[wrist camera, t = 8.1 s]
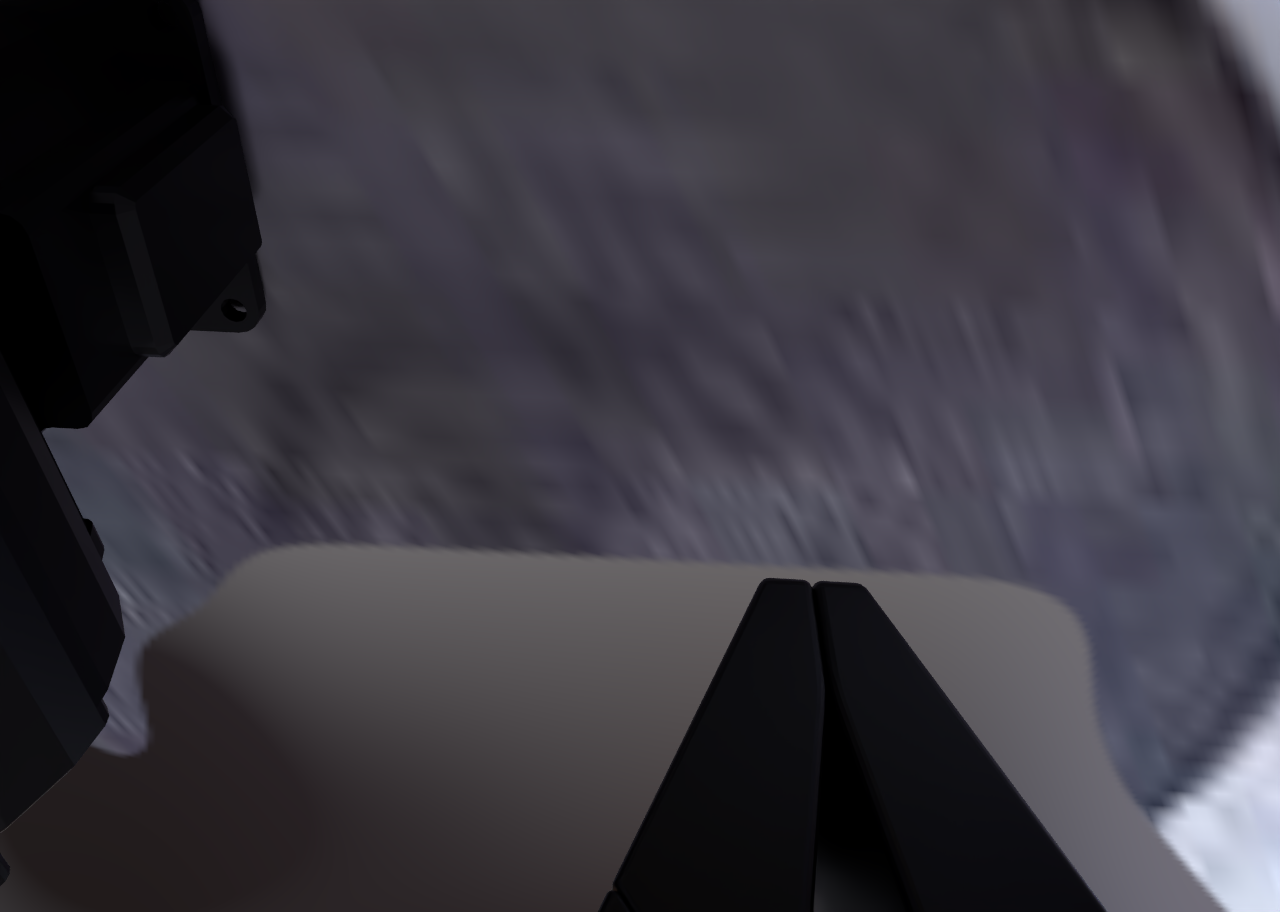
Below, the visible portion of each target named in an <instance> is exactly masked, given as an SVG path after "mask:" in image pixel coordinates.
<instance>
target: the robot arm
mask: <svg viewBox="0 0 1280 912" xmlns="http://www.w3.org/2000/svg"><path fill="white" fill-rule="evenodd" d="M159 1H162V2H165V3H167V4H168V5H170V6H171V7H172V8H173V9H174V11H175V13H176V15H177V17H178V26H177V27H174V26H171V25H168V24H167V23H166V22H165V21H164V20H163V19H162V18H161V16H160V14H159V12H158V2H159ZM261 245H262V239H261V234H260V230H259V225H258V220H257V216H256V211H255V206H254V202H253V197H252V192H251V188H250V183H249V178H248V174H247V169H246V164H245V160H244V155H243V151H242V146H241V141H240V137H239V132H238V127H237V123H236V119H235V118H234V117H233V116H232V115H231V114H230V113H229V112H228V111H227V109H226V108H225V107H224V106H222V101H221V97H220V92H219V88H218V83H217V79H216V74H215V70H214V65H213V61H212V56H211V52H210V47H209V43H208V38H207V34H206V29H205V24H204V20H203V15H202V11H201V9H200V7H199V4H198V2H197V0H0V833H1V832H2V831H4V830H5V829H6V828H7V827H9V826H10V825H11V824H12V823H13V822H14V821H15V820H16V819H17V818H18V817H20V816H21V815H22V814H23V813H24V812H25V811H26V810H27V809H28V808H29V807H31V806H32V805H33V804H34V803H35V802H36V801H37V800H38V799H39V798H40V797H42V796H43V795H44V794H45V793H46V792H47V791H48V790H49V789H50V788H51V787H52V786H53V785H55V784H56V783H57V782H58V781H59V780H60V779H61V778H62V777H63V776H64V775H66V773H68V772H69V771H70V770H71V769H72V768H73V767H74V766H75V764H76V763H77V762H78V761H79V759H80V758H81V757H82V755H83V754H84V753H85V751H86V750H87V749H88V747H89V746H90V745H91V744H92V742H93V741H94V740H95V738H96V737H97V736H98V734H99V733H100V732H101V731H102V729H103V728H104V727H105V725H106V723H107V720H108V717H109V713H108V708H107V706H106V704H105V702H104V701H103V699H102V698H103V697H104V695H105V693H106V692H107V690H108V687H109V684H110V681H111V678H112V675H113V672H114V669H115V666H116V663H117V660H118V657H119V654H120V651H121V648H122V645H123V642H124V639H125V632H124V626H123V619H122V613H121V606H120V600H119V595H118V593H117V591H116V588H115V586H114V584H113V582H112V580H111V578H110V576H109V574H108V572H107V570H106V568H105V566H104V564H103V562H102V558H103V553H104V545H103V543H102V541H101V539H100V537H99V535H98V533H97V531H96V529H95V527H94V525H93V523H92V521H90V520H89V519H84V518H83V517H82V515H81V513H80V511H79V509H78V507H77V505H76V503H75V500H74V498H73V496H72V494H71V492H70V490H69V488H68V486H67V484H66V482H65V480H64V478H63V476H62V474H61V472H60V469H59V467H58V465H57V463H56V461H55V459H54V457H53V455H52V453H51V451H50V449H49V447H48V445H47V443H46V441H45V438H44V436H43V434H42V432H43V431H44V430H45V429H46V428H51V427H55V428H74V429H79V428H85V427H88V425H89V424H90V423H91V422H92V421H93V420H94V419H95V417H96V416H97V415H98V414H99V413H100V412H101V411H102V409H103V408H104V407H105V406H106V405H107V404H108V403H109V401H110V400H111V399H112V398H113V397H114V396H115V395H116V393H117V392H118V391H119V390H120V389H121V388H122V387H123V385H124V384H125V383H126V382H127V381H128V380H129V379H130V377H131V376H132V375H133V374H134V373H135V372H136V371H137V369H138V368H139V367H140V366H141V365H142V364H143V363H144V361H145V360H146V359H147V358H148V357H166V356H167V355H169V354H170V353H171V352H172V351H173V349H174V348H175V347H176V346H177V345H178V344H179V343H180V341H181V340H182V339H183V338H184V337H185V335H186V334H187V333H188V332H189V331H190V330H196V331H217V332H237V333H240V332H247V331H249V330H251V329H253V328H254V327H255V326H256V325H257V324H258V322H259V321H260V320H261V318H262V317H263V315H264V313H265V311H266V301H265V296H264V292H263V287H262V283H261V278H260V273H259V269H258V264H257V260H256V255H255V253H256V252H257V250H258V249H259V248H260V247H261ZM229 299H234V300H238V301H239V302H240V303H242V304H243V305H244V307H245V309H246V311H247V312H241V311H237V310H236V309H235V308H234V307H232V306H231V304H230V302H229ZM9 874H10V866H9V865H8V863H7V862H6V860H5V859H4V857H3V856H2V855H1V853H0V886H1V885H2V884H3V883H4V882H5V881H6V879H7V877H8V876H9ZM598 912H1107V910H1106V909H1105V907H1104V906H1103V905H1102V903H1101V902H1100V901H1099V899H1098V898H1097V897H1096V895H1095V894H1094V893H1093V891H1092V890H1091V889H1090V887H1089V886H1088V885H1087V883H1086V882H1085V881H1084V879H1083V878H1082V877H1081V875H1080V874H1079V873H1078V872H1077V870H1076V869H1075V867H1074V866H1073V865H1072V863H1071V862H1070V861H1069V859H1068V858H1067V857H1066V855H1065V854H1064V853H1063V851H1062V850H1061V848H1060V847H1059V846H1058V845H1057V843H1056V842H1055V841H1054V839H1053V838H1052V836H1051V835H1050V834H1049V832H1048V831H1047V830H1046V828H1045V827H1044V826H1043V824H1042V823H1041V822H1040V820H1039V819H1038V818H1037V816H1036V815H1035V814H1034V812H1033V811H1032V810H1031V808H1030V807H1029V806H1028V804H1027V803H1026V802H1025V800H1024V799H1023V798H1022V797H1021V795H1020V794H1019V792H1018V791H1017V790H1016V788H1015V787H1014V785H1013V784H1012V783H1011V782H1010V780H1009V779H1008V777H1007V776H1006V775H1005V773H1004V772H1003V771H1002V769H1001V768H1000V767H999V765H998V764H997V763H996V761H995V760H994V759H993V757H992V756H991V755H990V753H989V752H988V751H987V749H986V748H985V747H984V745H983V744H982V743H981V741H980V740H979V739H978V737H977V736H976V735H975V733H974V732H973V731H972V729H971V728H970V727H969V725H968V724H967V722H966V721H965V720H964V719H963V717H962V716H961V715H960V713H959V712H958V711H957V709H956V708H955V706H954V705H953V704H952V703H951V701H950V700H949V698H948V697H947V696H946V694H945V693H944V692H943V690H942V689H941V688H940V686H939V685H938V684H937V682H936V681H935V680H934V678H933V677H932V676H931V674H930V673H929V672H928V670H927V669H926V668H925V666H924V665H923V664H922V662H921V661H920V660H919V658H918V657H917V655H916V654H915V653H914V652H913V650H912V649H911V647H909V645H908V643H907V642H906V641H905V639H904V638H903V637H902V635H901V634H900V633H899V631H898V630H897V629H896V627H895V626H894V625H893V623H892V622H891V621H890V619H889V618H888V617H887V615H886V614H885V613H884V611H883V610H882V609H881V607H880V606H879V605H878V603H877V602H876V601H875V600H874V598H873V597H872V595H871V594H870V593H869V591H868V590H867V589H866V588H865V587H864V586H862V585H861V584H858V583H847V582H829V581H819V582H817V583H815V584H814V586H813V587H811V585H810V583H809V582H807V581H805V580H796V579H778V578H766V579H764V580H763V581H762V582H761V583H760V584H759V586H758V588H757V590H756V592H755V594H754V596H753V598H752V600H751V602H750V604H749V606H748V608H747V610H746V612H745V614H744V616H743V618H742V621H741V623H740V624H739V626H738V628H737V631H736V633H735V635H734V637H733V639H732V641H731V643H730V645H729V647H728V649H727V651H726V653H725V655H724V657H723V659H722V661H721V663H720V665H719V667H718V669H717V671H716V674H715V676H714V677H713V679H712V681H711V684H710V685H709V688H708V690H707V692H706V694H705V696H704V698H703V700H702V702H701V704H700V706H699V708H698V710H697V712H696V714H695V716H694V718H693V720H692V722H691V724H690V726H689V728H688V730H687V733H686V735H685V737H684V738H683V741H682V743H681V745H680V747H679V749H678V751H677V753H676V755H675V757H674V759H673V761H672V763H671V765H670V767H669V769H668V771H667V773H666V775H665V777H664V779H663V781H662V783H661V785H660V787H659V789H658V791H657V793H656V795H655V798H654V800H653V802H652V804H651V806H650V808H649V810H648V812H647V814H646V816H645V818H644V820H643V822H642V824H641V826H640V828H639V830H638V832H637V834H636V836H635V838H634V840H633V842H632V844H631V847H630V849H629V851H628V853H627V855H626V857H625V859H624V861H623V863H622V865H621V867H620V869H619V871H618V873H617V875H616V877H615V879H614V881H613V884H612V890H611V891H609V892H608V893H607V894H606V896H605V898H604V900H603V902H602V904H601V906H600V908H599V910H598Z"/></svg>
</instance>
